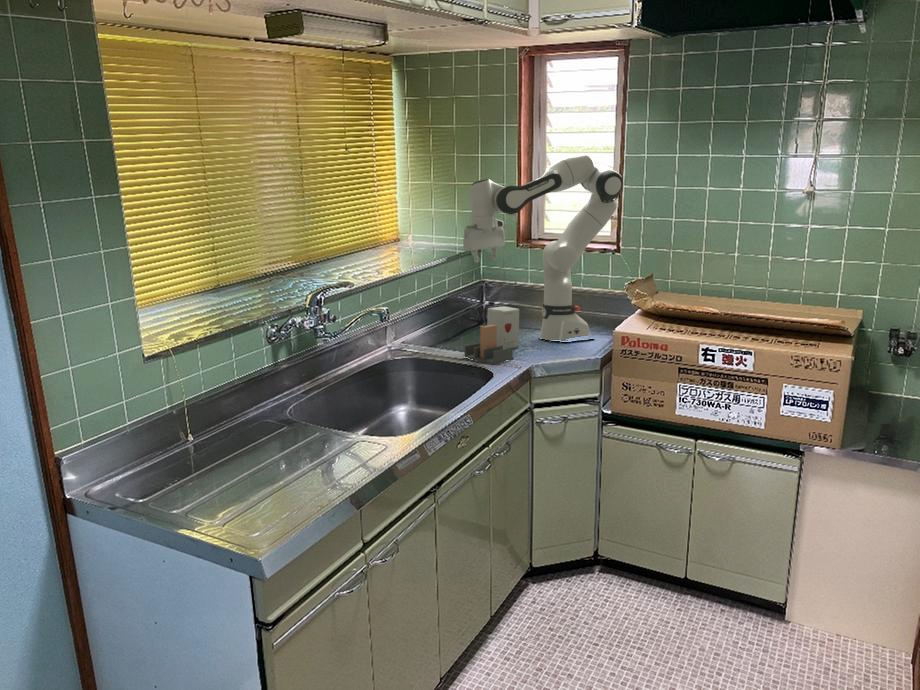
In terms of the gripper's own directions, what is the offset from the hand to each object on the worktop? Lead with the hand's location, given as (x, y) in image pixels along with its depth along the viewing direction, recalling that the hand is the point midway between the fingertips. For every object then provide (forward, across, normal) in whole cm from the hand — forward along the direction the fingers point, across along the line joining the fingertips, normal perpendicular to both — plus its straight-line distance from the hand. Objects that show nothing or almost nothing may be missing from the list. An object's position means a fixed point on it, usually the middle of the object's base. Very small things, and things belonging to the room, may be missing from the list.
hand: (485, 260), depth 279 cm
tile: (+32, -17, -14) cm, 39 cm away
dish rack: (+33, -17, -14) cm, 40 cm away
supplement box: (+34, +2, -4) cm, 34 cm away
